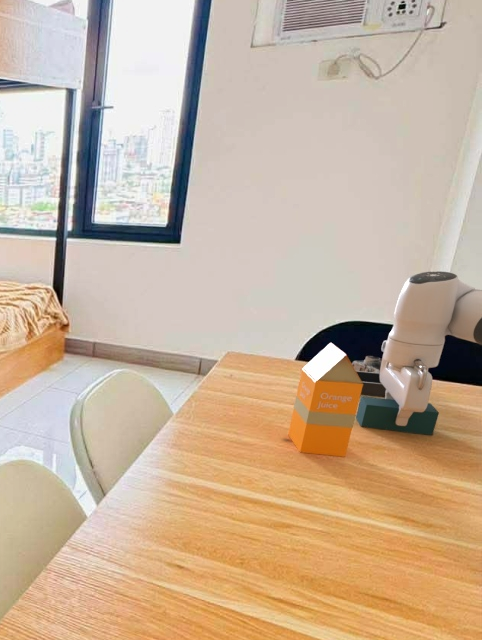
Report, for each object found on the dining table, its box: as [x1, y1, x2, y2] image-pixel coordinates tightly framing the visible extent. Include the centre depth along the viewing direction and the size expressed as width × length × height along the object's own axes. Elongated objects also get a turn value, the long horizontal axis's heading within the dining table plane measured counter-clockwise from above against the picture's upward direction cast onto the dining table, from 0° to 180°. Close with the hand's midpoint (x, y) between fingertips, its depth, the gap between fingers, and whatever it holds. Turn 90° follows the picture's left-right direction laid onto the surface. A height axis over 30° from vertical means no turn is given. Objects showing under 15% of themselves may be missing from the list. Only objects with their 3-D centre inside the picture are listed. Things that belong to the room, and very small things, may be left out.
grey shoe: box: [351, 355, 382, 373], centre depth 163 cm, size 5×10×4 cm, turn 2°
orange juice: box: [287, 342, 363, 458], centre depth 120 cm, size 8×9×20 cm
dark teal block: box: [355, 395, 440, 436], centre depth 131 cm, size 12×6×5 cm, turn 65°
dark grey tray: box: [356, 371, 386, 398], centre depth 152 cm, size 16×10×3 cm, turn 65°
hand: (394, 417), depth 131 cm, fingers open, 7 cm apart
